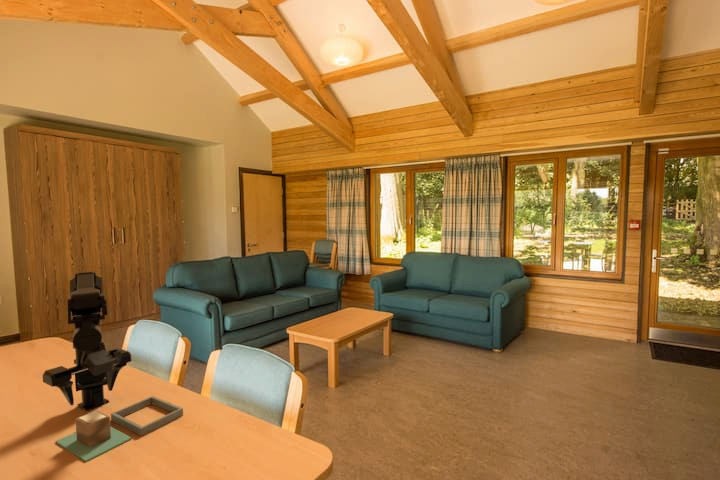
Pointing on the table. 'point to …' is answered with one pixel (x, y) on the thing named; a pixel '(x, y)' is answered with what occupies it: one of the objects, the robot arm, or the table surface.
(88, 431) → the walnut block
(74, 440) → the mat
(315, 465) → the table surface
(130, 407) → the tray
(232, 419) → the table surface
